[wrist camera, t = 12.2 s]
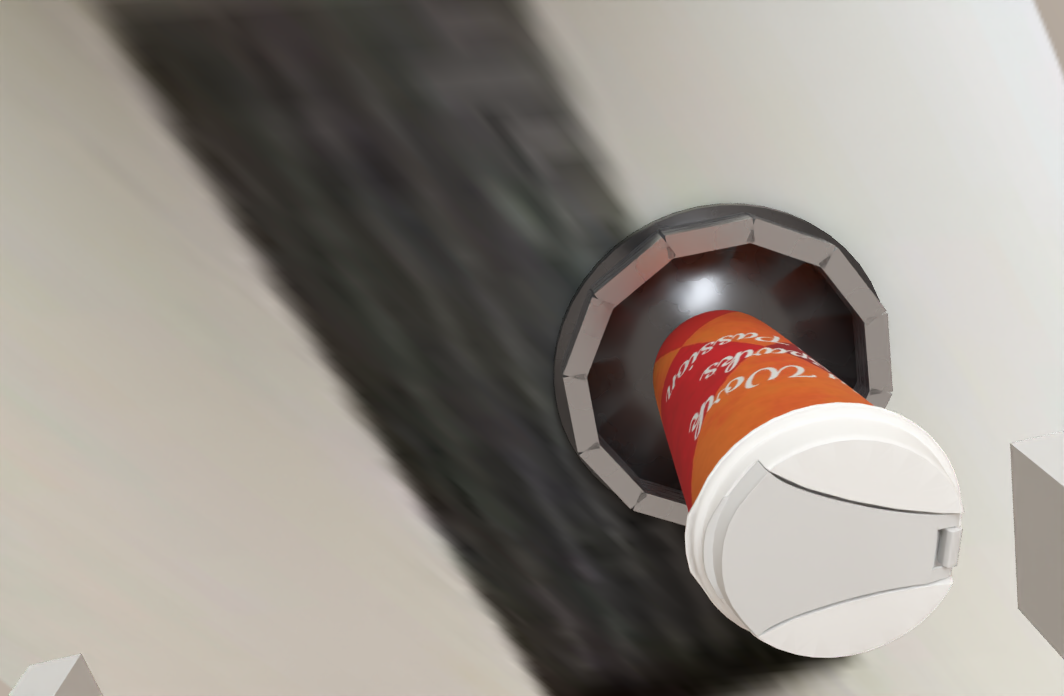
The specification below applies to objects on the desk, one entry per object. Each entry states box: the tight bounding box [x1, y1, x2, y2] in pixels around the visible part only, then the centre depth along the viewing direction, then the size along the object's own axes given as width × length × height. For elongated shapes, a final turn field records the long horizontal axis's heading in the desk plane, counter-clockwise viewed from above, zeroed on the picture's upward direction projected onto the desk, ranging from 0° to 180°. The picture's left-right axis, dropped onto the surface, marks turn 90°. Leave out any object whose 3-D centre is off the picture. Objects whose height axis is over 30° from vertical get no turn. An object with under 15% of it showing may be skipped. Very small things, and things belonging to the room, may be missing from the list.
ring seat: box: [554, 204, 893, 526], centre depth 39 cm, size 15×15×2 cm
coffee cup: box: [653, 310, 964, 658], centre depth 32 cm, size 8×8×15 cm
